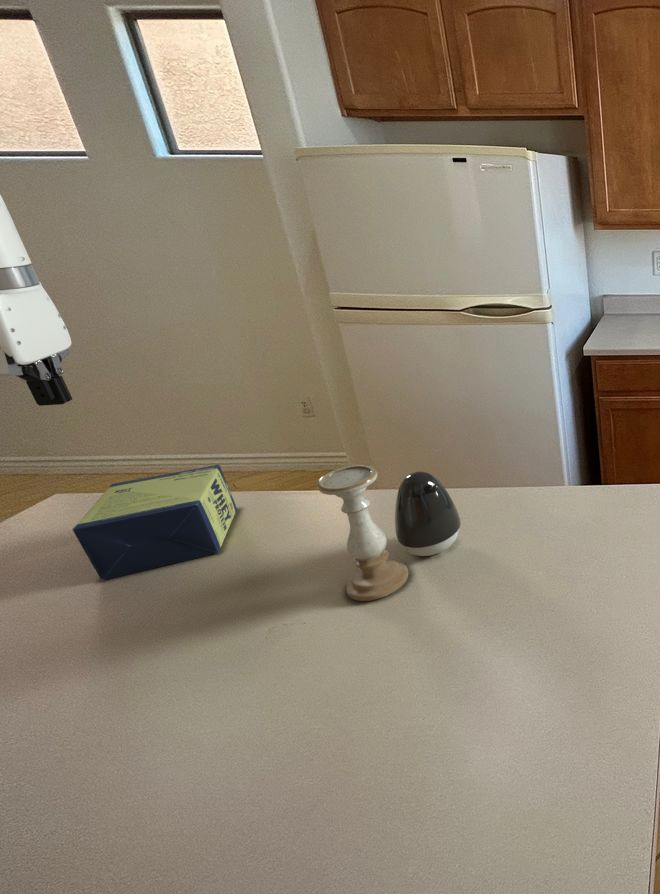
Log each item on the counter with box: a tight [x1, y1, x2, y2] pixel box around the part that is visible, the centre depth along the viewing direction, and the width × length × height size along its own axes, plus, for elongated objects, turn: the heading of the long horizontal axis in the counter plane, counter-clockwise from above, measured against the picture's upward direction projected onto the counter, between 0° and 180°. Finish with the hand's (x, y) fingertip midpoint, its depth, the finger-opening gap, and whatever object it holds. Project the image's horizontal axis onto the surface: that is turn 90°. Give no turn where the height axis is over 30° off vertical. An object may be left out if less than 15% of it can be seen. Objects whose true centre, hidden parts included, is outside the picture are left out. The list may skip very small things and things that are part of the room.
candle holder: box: [317, 464, 409, 602], centre depth 87 cm, size 9×9×20 cm
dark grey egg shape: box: [394, 470, 461, 557], centre depth 97 cm, size 10×10×15 cm
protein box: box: [72, 464, 238, 581], centre depth 98 cm, size 10×16×16 cm
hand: (55, 402), depth 83 cm, fingers closed
